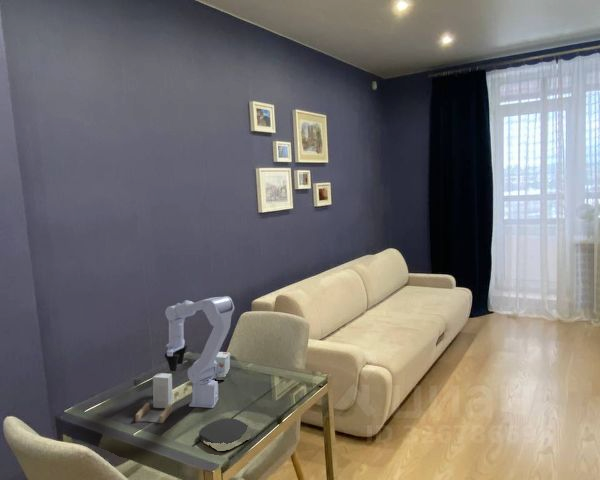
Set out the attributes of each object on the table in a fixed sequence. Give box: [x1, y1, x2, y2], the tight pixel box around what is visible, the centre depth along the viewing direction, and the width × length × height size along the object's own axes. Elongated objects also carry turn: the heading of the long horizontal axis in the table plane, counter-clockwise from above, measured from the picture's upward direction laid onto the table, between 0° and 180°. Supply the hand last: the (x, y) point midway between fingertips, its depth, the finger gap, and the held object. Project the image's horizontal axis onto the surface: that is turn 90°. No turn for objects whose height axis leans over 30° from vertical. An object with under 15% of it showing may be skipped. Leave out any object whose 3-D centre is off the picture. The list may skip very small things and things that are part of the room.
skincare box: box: [152, 372, 173, 409], centre depth 166 cm, size 6×4×12 cm
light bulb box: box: [213, 351, 231, 378], centre depth 193 cm, size 11×7×11 cm, turn 81°
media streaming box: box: [198, 417, 249, 444], centre depth 146 cm, size 15×15×3 cm
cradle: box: [135, 402, 173, 424], centre depth 159 cm, size 10×9×2 cm
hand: (176, 367), depth 178 cm, fingers open, 7 cm apart
